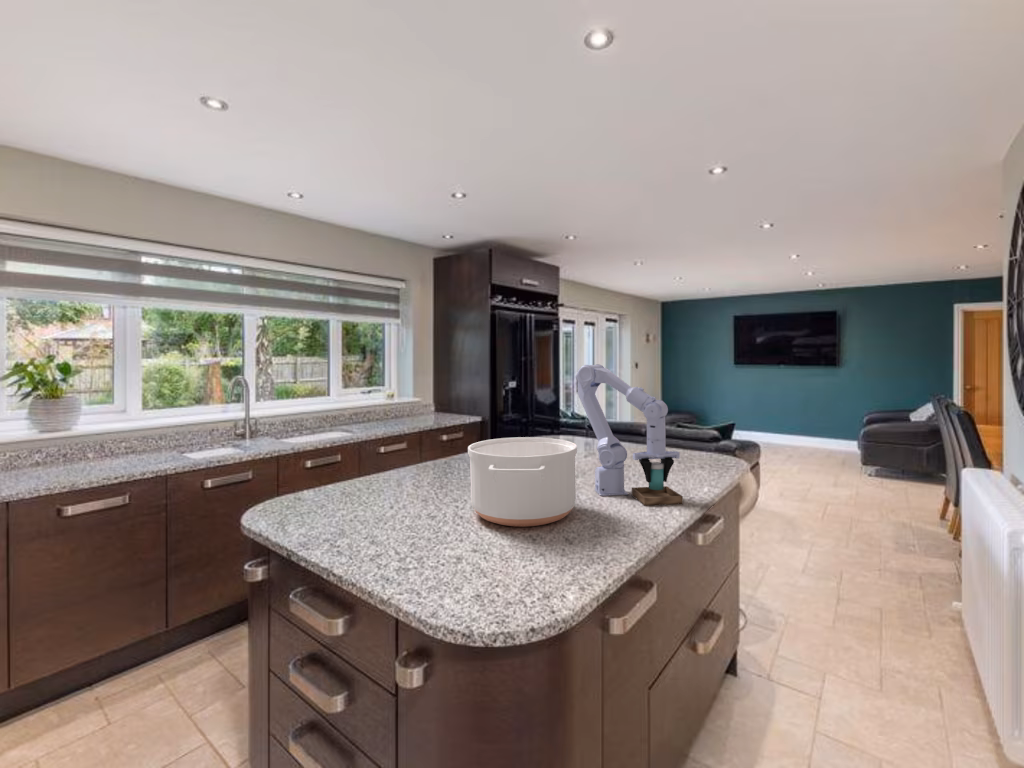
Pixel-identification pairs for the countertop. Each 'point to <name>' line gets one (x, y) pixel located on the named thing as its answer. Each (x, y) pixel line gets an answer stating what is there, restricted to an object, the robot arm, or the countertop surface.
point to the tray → (657, 496)
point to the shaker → (657, 476)
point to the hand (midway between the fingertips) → (656, 481)
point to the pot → (522, 480)
